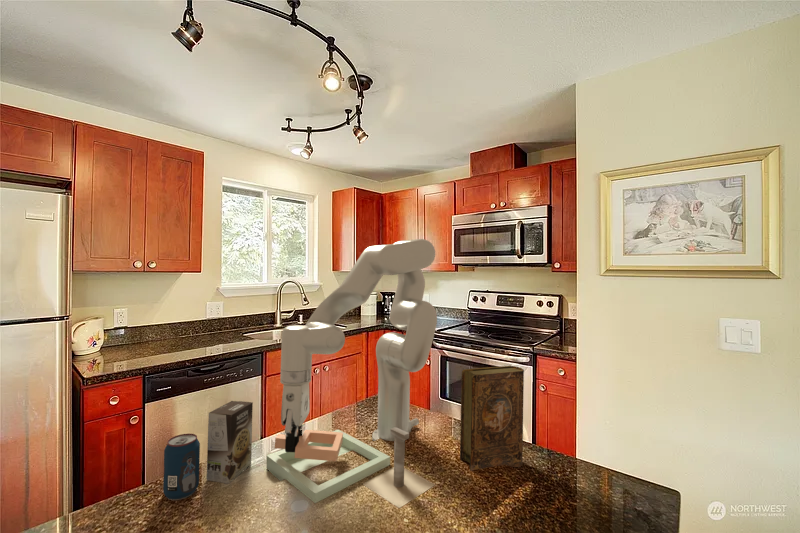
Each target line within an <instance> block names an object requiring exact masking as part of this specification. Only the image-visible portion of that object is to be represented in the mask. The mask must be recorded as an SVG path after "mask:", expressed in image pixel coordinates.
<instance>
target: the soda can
mask: <svg viewBox="0 0 800 533" xmlns="http://www.w3.org/2000/svg"><path fill="white" fill-rule="evenodd" d="M200 448H201V444H200V440H198V436H197V434H195V433H181V434H178V435H175V436H172V437H171V438H169V439H168V440H167V444H166V445H165V447H164V450H163V483H162V484H163V486H162V488H163V489H162V490H163V491H162V493H163V494H164V496H165V497H166V498H167V499H168V500H171V501H180V500H184V499H186V498H188V497H190V496H192V495H194V493H195V492H196V491H197V489H198V487H199V485H200V456H201V455H200V454H201V453H200V452H201V450H200Z"/></svg>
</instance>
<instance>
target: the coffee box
mask: <svg viewBox="0 0 800 533" xmlns="http://www.w3.org/2000/svg"><path fill="white" fill-rule="evenodd" d="M253 403H254V402H253V401H244V400H243V401H241V400H239V401H238V400H230V401H229V402H227V403H225V404H223V405H221V406H219V407H217V408H215V409H213V410H211V411H210V412H208V422H207V423H208V425H207V449H206V450H207V452H206V453H207V454H206V456H207V457H206V458H207V459H206V481H209V482H210V481H211V482H217V483H223V484H230V483H232V481H234V480H235V479H236V478H238V476H240V474H242V473H243V472H244V471H245V470H247V467H248V466H249V465H250V464H251V465H252V444H253ZM251 465H250V466H251ZM250 466H249V467H250ZM249 467H248V468H249ZM243 470H244V471H243ZM242 471H243V472H242ZM241 472H242V473H241ZM235 477H236V478H235ZM234 478H235V479H234ZM229 482H230V483H229Z"/></svg>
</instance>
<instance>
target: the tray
mask: <svg viewBox="0 0 800 533" xmlns="http://www.w3.org/2000/svg"><path fill="white" fill-rule="evenodd" d="M331 432H341V433H343V441H342V445H341V448H340V451H339V455H338V457H339V456H342V455H345V454H347V453H349V452H352V451H354V452H356V453H358V454H359V455H361V456H363V457H364V458H365V459H368V460H369V461H368V462H367V461H366V462H364V463H363V464H361V465H358V466H356V467H355V468H352V469H349V470H347V471H345V472H344V473H342V474H339V475H337V476H335V477H333V478H331V479H329V480H327V481H325V482H323V483H321V484H317V483H316V482H314V481H313V480H311V479H310V478H308V477H307V476H306V475H305V474H303V472H304V471H308V470H310V469H312V468H314V467H316V466H319V465H321V464H324V463H326V462H327V461H325V460H313V459H301V458H295V452H285V449H279V450H278V451H275V452H272V453H270V454H267V455H266V468H267V469H268V470H269V471H270V472H271V473H272V474H271V473H270V472H269V471H268V470H267V469H266V468H265V469H266V470H267V471H268V472H269V473H270V474H271V475H273V476H274V478H276V479H277V478H278V479H277V480H279V481H280V482H282V481H284V480H286V481H288V483H289V484H291V485H292V486H294V488H296V489H297V490H298V491H299V492H301V493H302V494H303V495H305V496H306V497H307V498H308V499H309V500H310V501H312V502H313V503H314V504H316V503H318V502H320V501H322V500H324V499H326V498H329V497H330V496H332V495H334V494H336V493H338V492H340V491H342V490H344V489H345V488H347V487H350V486H351V485H353V484H356V483H357V482H359V481H361V480H363V479H366V478H367V477H369V476H371V475H373V474H375V473H377V472H379V471H381V470H383V469H384V468H387V467H389V466H391V456H390V455H388V454H386V453H384V452H382V451H380V450H378V449H377V448H374V447H373V446H371V445H369V444H366V443H365V442H363V441H361V440H359V439H357V438H355V437H354V436H352V435H350V434H348V433H346V432H345V431H343V430H340V429H335V430H332V431H331ZM308 445H310V446H322V447H332V446H333V444H327V443H315V442H309V443H308Z"/></svg>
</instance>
